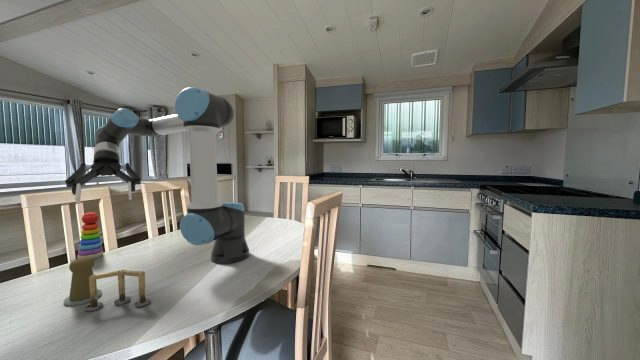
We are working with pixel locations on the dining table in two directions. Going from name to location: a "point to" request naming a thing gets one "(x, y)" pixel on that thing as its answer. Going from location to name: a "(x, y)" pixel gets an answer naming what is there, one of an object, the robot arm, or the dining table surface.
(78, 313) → the dining table surface
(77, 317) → the dining table surface
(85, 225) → the stacking toy
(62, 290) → the dining table surface
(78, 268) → the cork
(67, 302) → the coaster
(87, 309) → the rail
